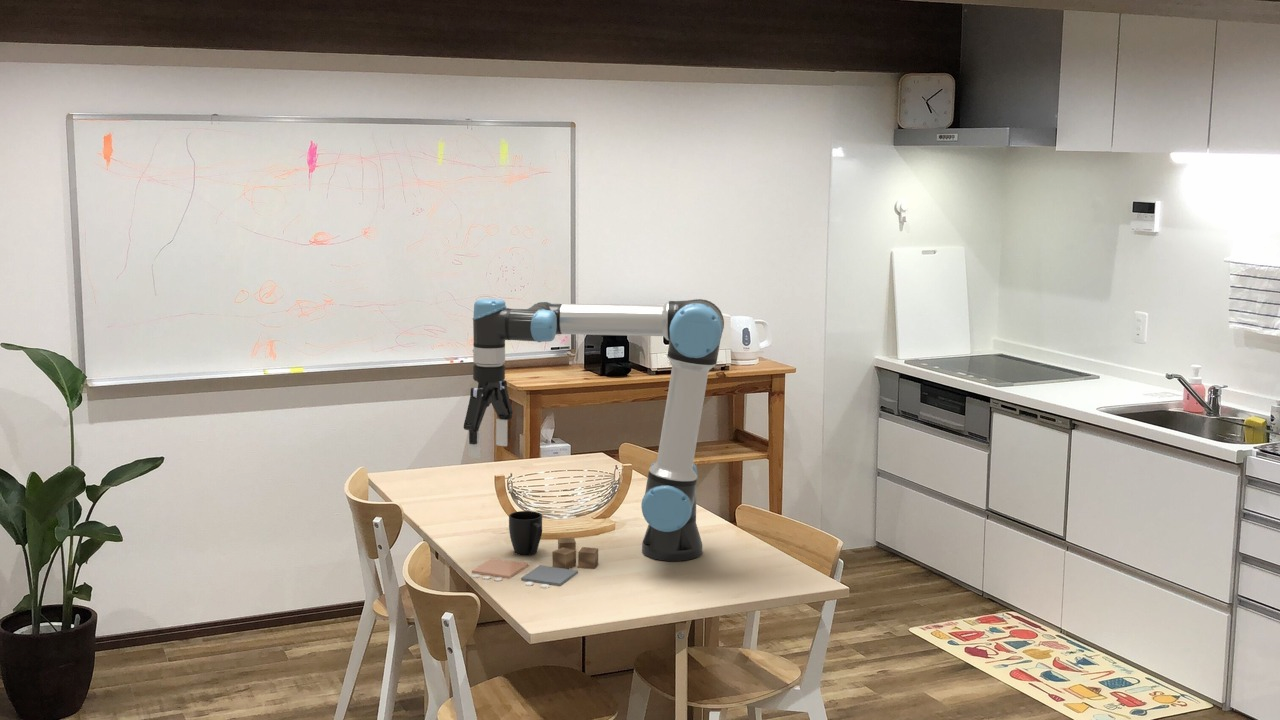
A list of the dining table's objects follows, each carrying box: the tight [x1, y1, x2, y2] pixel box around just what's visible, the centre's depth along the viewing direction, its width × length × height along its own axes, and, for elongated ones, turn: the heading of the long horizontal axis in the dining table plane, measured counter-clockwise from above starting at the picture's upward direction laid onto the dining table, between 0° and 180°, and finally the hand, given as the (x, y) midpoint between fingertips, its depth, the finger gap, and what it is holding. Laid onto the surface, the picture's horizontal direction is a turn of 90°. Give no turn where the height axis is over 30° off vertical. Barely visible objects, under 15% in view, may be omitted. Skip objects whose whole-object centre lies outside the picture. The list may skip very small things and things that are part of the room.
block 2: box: [551, 547, 577, 569], centre depth 296 cm, size 4×4×4 cm
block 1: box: [557, 537, 577, 551], centre depth 304 cm, size 4×4×4 cm
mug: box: [508, 510, 543, 556], centre depth 304 cm, size 8×12×10 cm
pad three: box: [470, 557, 530, 582], centre depth 292 cm, size 10×13×1 cm
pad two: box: [520, 564, 579, 589], centre depth 287 cm, size 10×13×1 cm
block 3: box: [577, 546, 599, 570], centre depth 297 cm, size 4×4×4 cm
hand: (488, 451), depth 296 cm, fingers open, 13 cm apart
